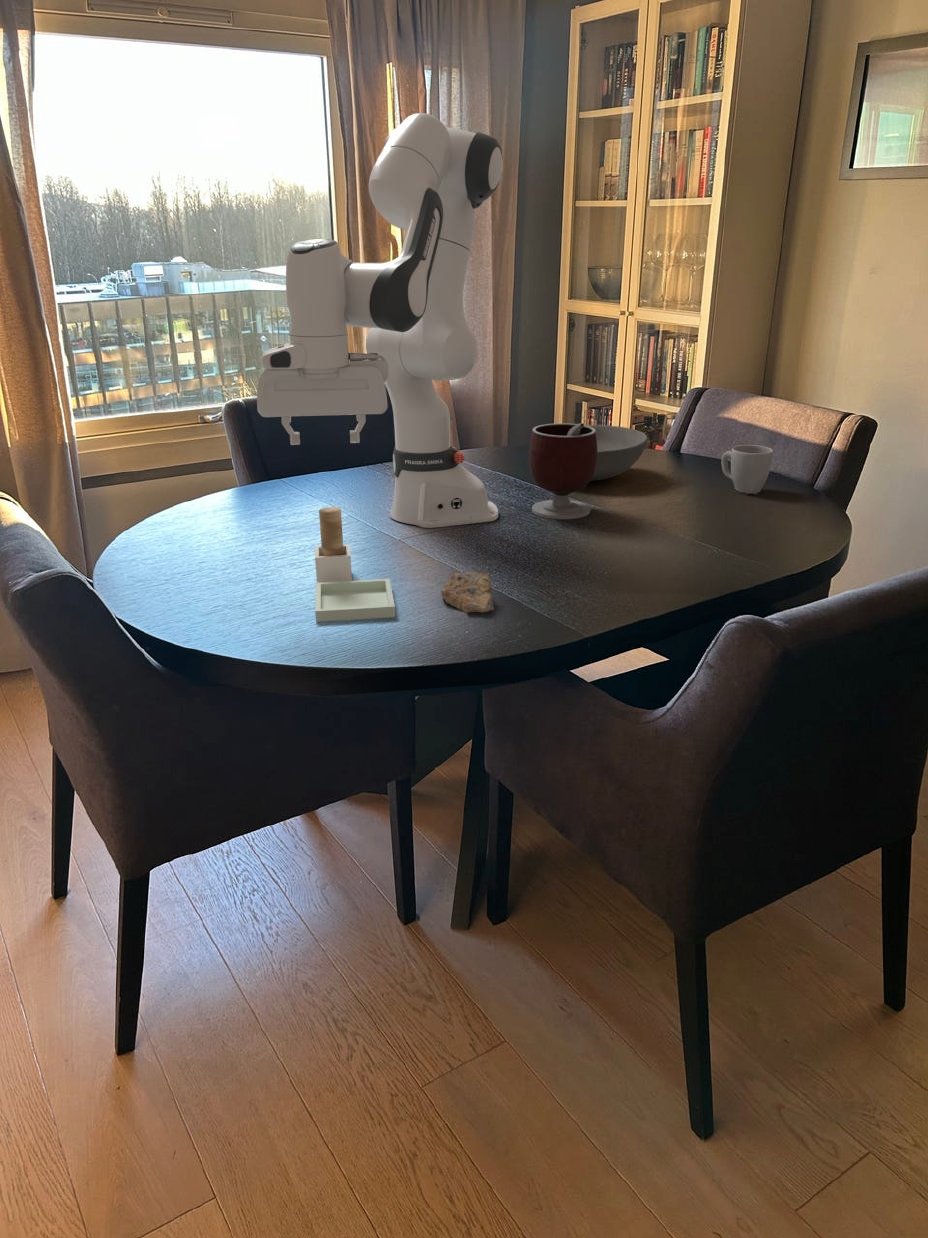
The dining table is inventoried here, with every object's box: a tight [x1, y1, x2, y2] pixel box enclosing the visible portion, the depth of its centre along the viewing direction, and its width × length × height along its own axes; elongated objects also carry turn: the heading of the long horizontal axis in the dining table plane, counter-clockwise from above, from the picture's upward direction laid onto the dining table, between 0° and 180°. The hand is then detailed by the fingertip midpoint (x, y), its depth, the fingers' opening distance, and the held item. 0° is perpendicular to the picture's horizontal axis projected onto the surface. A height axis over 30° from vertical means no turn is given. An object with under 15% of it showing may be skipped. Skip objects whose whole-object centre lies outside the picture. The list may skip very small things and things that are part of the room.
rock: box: [440, 571, 495, 614], centre depth 146 cm, size 9×6×10 cm
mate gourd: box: [528, 422, 597, 520], centre depth 189 cm, size 16×14×20 cm
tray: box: [314, 578, 396, 623], centre depth 144 cm, size 12×12×2 cm
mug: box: [720, 444, 774, 493], centre depth 205 cm, size 12×9×10 cm
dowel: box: [318, 506, 344, 556], centre depth 153 cm, size 4×4×12 cm
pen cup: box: [314, 544, 353, 583], centre depth 154 cm, size 6×6×6 cm
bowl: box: [585, 424, 649, 482], centre depth 217 cm, size 26×26×10 cm
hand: (325, 443), depth 146 cm, fingers open, 8 cm apart
